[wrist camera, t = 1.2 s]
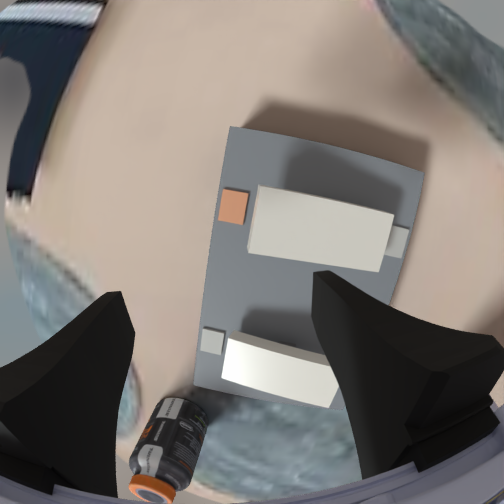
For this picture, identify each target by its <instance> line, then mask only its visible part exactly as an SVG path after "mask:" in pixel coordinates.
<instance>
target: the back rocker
mask: <svg viewBox="0 0 504 504" xmlns="http://www.w3.org/2000/svg"><path fill="white" fill-rule="evenodd" d="M221 378H223V379H226V380H229V381H232V382H235V383H238V384H241V385H244V386H247V387H251V388H254V389H257V390H260V391H264V392H267V393H271V394H274V395H278V396H281V397H285V398H289V399H293V400H297V401H300V402H304V403H309V404H313V405H317V406H321V407H326V408H329V406H330V404H331V402H332V400H333V398H334V396H335V394H336V392H337V389H338V387H339V385H338V382H337V380H336V378H335V375H334V373H333V371H332V369H331V367H330V364H329V362H328V360H327V358H326V356H325V355H322V354H318V353H314V352H310V351H306V350H302V349H299V348H295V347H291V346H287V345H284V344H280V343H277V342H273V341H269V340H266V339H263V338H259V337H256V336H252V335H249V334H246V333H242V332H239V331H236V330H234V331H233V332H232V333H231V335H230V336H229V338H228V342H227V348H226V354H225V360H224V366H223V371H222V377H221Z"/></svg>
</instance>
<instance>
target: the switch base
mask: <svg viewBox="0 0 504 504" xmlns="http://www.w3.org/2000/svg"><path fill="white" fill-rule="evenodd" d="M424 174H425V173H424V172H421V171H418V170H415V169H412V168H409V167H406V166H403V165H400V164H397V163H394V162H390V161H387V160H384V159H380V158H377V157H374V156H370V155H367V154H363V153H359V152H356V151H352V150H348V149H344V148H340V147H336V146H332V145H328V144H324V143H319V142H315V141H310V140H306V139H301V138H296V137H291V136H286V135H281V134H275V133H270V132H264V131H258V130H252V129H246V128H239V127H232V126H230V129H229V134H228V139H227V145H226V150H225V156H224V161H223V167H222V173H221V179H220V185H219V191H218V197H217V203H216V209H215V216H214V222H213V229H212V235H211V242H210V249H209V256H208V263H207V270H206V278H205V285H204V293H203V301H202V309H201V317H200V326H199V334H198V343H197V353H196V362H195V372H194V382H193V385H195V386H199V387H203V388H207V389H212V390H216V391H220V392H225V393H229V394H234V395H239V396H244V397H249V398H255V399H260V400H266V401H272V402H278V403H285V404H292V405H299V406H307V407H315V408H325V409H335V410H343V408H344V407H345V402H344V399H343V396H342V393H341V390H340V387H338V389H337V392H336V394H335V396H334V398H333V400H332V402H331V404H330V406H329V408H326V407H321V406H317V405H313V404H309V403H304V402H300V401H297V400H293V399H289V398H285V397H281V396H278V395H274V394H271V393H267V392H264V391H260V390H257V389H254V388H251V387H247V386H244V385H241V384H238V383H235V382H232V381H229V380H226V379H223V378H221V377H222V371H223V366H224V360H225V354H226V348H227V342H228V338H229V336H230V335H231V333H232V332H233V331H234V330H236V331H239V332H242V333H246V334H249V335H252V336H256V337H259V338H263V339H266V340H269V341H273V342H277V343H280V344H284V345H287V346H291V347H295V348H299V349H302V350H306V351H310V352H314V353H318V354H322V355H325V354H324V351H323V349H322V347H321V345H320V342H319V340H318V338H317V335H316V332H315V328H314V325H313V321H312V318H311V307H312V288H313V272H317V271H325V270H330V271H332V272H333V273H335V274H337V275H338V276H340V277H342V278H343V279H345V280H346V281H348V282H349V283H351V284H352V285H354V286H356V287H357V288H359V289H360V290H362V291H364V292H365V293H367V294H369V295H370V296H372V297H374V298H375V299H377V300H379V301H381V302H383V303H385V304H387V305H389V303H390V300H391V297H392V294H393V291H394V288H395V285H396V282H397V279H398V276H399V273H400V270H401V267H402V263H403V260H404V257H405V253H406V250H407V246H408V243H409V239H410V235H411V232H412V228H413V224H414V220H415V216H416V211H417V207H418V203H419V198H420V194H421V189H422V184H423V179H424ZM259 184H260V185H265V186H271V187H276V188H282V189H287V190H292V191H297V192H302V193H307V194H312V195H317V196H321V197H326V198H331V199H335V200H340V201H344V202H349V203H353V204H357V205H361V206H366V207H370V208H374V209H378V210H382V211H385V212H388V213H391V214H393V215H394V218H393V222H392V226H391V230H390V234H389V238H388V242H387V245H386V249H385V252H384V256H383V259H382V263H381V266H380V270H379V272H372V271H366V270H359V269H352V268H345V267H339V266H332V265H325V264H319V263H312V262H305V261H298V260H292V259H285V258H278V257H272V256H265V255H258V254H252V253H248V249H247V245H248V239H249V234H250V228H251V223H252V217H253V212H254V206H255V201H256V195H257V190H258V185H259Z"/></svg>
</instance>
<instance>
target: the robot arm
mask: <svg viewBox="0 0 504 504" xmlns="http://www.w3.org/2000/svg"><path fill="white" fill-rule="evenodd" d="M311 318H312V321H313V325H314V328H315V332H316V335H317V338H318V340H319V342H320V345H321V347H322V349H323V351H324V354H325V356H326V358H327V360H328V362H329V364H330V367H331V369H332V371H333V373H334V375H335V378H336V380H337V382H338V385H339V387H340V390H341V393H342V396H343V399H344V402H345V406H346V409H347V412H348V416H349V420H350V424H351V427H352V431H353V435H354V439H355V444H356V448H357V453H358V457H359V463H360V468H361V474H362V480H360V481H357V482H354V483H350V484H346V485H343V486H339V487H335V488H331V489H327V490H323V491H318V492H314V493H309V494H304V495H298V496H293V497H287V498H280V499H273V500H265V501H256V502H246V503H232V504H485V503H487V502H488V501H490V500H491V499H492V498H494V497H495V496H497V495H498V494H499V493H501V492H502V491H503V490H504V404H503V405H502V406H501V407H499V408H498V406H497V404H496V403H495V402H494V400H493V399H492V397H491V396H490V395H489V393H490V392H491V390H492V389H493V387H494V386H495V384H496V382H497V381H498V379H499V378H500V376H501V374H502V373H503V371H504V348H503V347H502V346H501V345H500V343H499V342H498V341H497V340H496V339H495V338H494V337H493V336H492V335H484V334H477V333H469V332H464V331H459V330H455V329H450V328H446V327H443V326H439V325H435V324H432V323H429V322H426V321H423V320H420V319H418V318H415V317H413V316H410V315H408V314H406V313H403V312H401V311H399V310H397V309H394V308H392V307H390V306H388V305H387V304H385V303H383V302H381V301H379V300H377V299H375V298H374V297H372V296H370V295H369V294H367V293H365V292H364V291H362V290H360V289H359V288H357V287H356V286H354V285H352V284H351V283H349V282H348V281H346V280H345V279H343V278H342V277H340V276H338V275H337V274H335V273H333V272H332V271H330V270H325V271H317V272H313V288H312V307H311ZM134 340H135V331H134V328H133V325H132V322H131V320H130V317H129V314H128V311H127V308H126V305H125V302H124V299H123V296H122V293H121V291H115V292H106V293H105V294H103V295H102V296H101V297H99V298H98V299H97V300H96V301H94V302H93V303H92V304H91V305H90V306H88V307H87V308H86V309H85V310H84V311H83V312H81V313H80V314H79V315H78V316H77V317H76V318H74V319H73V320H72V321H71V322H70V323H68V324H67V325H66V326H65V327H63V328H62V329H61V330H60V331H59V332H57V333H56V334H55V335H54V336H52V337H51V338H50V339H48V340H47V341H45V342H44V343H43V344H41V345H40V346H38V347H37V348H35V349H34V350H32V351H30V352H29V353H27V354H25V355H24V356H22V357H20V358H18V359H16V360H15V361H13V362H11V363H9V364H7V365H5V366H3V367H1V368H0V504H167V503H153V502H142V501H134V500H127V499H120V498H118V494H117V483H116V462H115V449H116V430H117V419H118V410H119V405H120V400H121V396H122V392H123V388H124V384H125V381H126V377H127V373H128V370H129V366H130V362H131V358H132V354H133V347H134ZM488 504H504V492H503V493H502V494H500V495H499V496H498V497H496V498H495V499H493V500H492V501H491V502H489V503H488Z"/></svg>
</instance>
